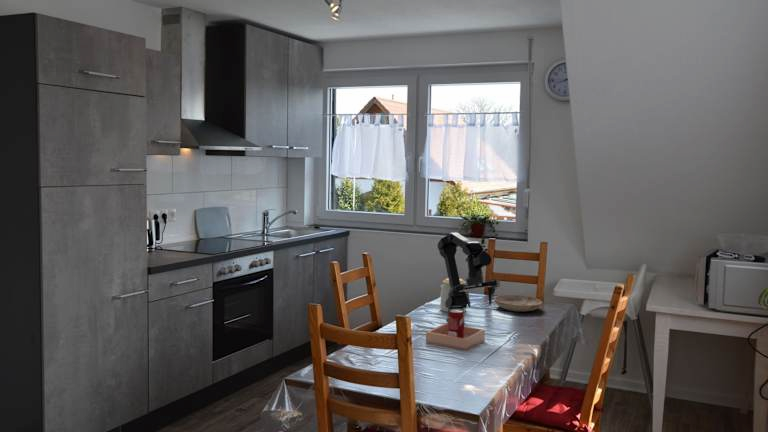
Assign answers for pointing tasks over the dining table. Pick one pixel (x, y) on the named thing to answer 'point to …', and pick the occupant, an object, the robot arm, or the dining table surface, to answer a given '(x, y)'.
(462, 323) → the soda can
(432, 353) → the dining table surface
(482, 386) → the dining table surface
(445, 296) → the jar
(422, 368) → the dining table surface
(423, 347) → the dining table surface
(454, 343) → the terracotta tray
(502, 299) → the ceramic bowl
